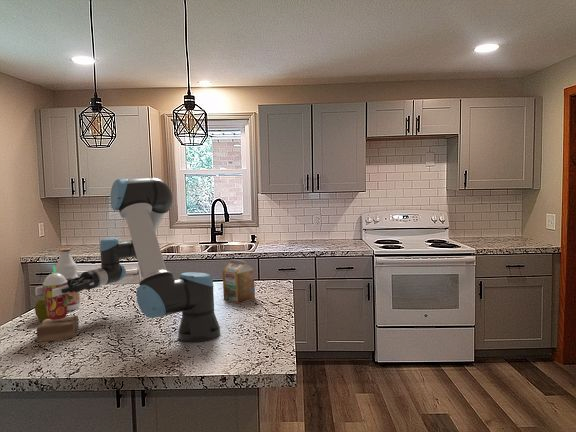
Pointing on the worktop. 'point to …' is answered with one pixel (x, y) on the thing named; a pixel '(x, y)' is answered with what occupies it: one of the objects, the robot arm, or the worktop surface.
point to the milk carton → (238, 282)
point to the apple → (41, 310)
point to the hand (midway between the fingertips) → (44, 292)
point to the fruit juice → (68, 276)
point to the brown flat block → (57, 328)
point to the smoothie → (59, 303)
